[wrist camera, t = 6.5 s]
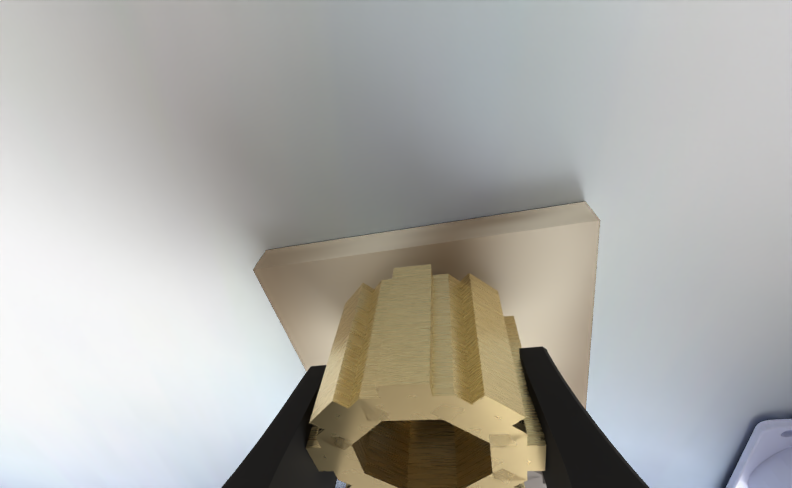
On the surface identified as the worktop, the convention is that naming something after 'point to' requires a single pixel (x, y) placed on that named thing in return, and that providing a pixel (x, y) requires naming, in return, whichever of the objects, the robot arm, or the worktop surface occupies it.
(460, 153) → the worktop surface
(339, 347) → the brass gear
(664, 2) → the worktop surface
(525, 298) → the gear board
